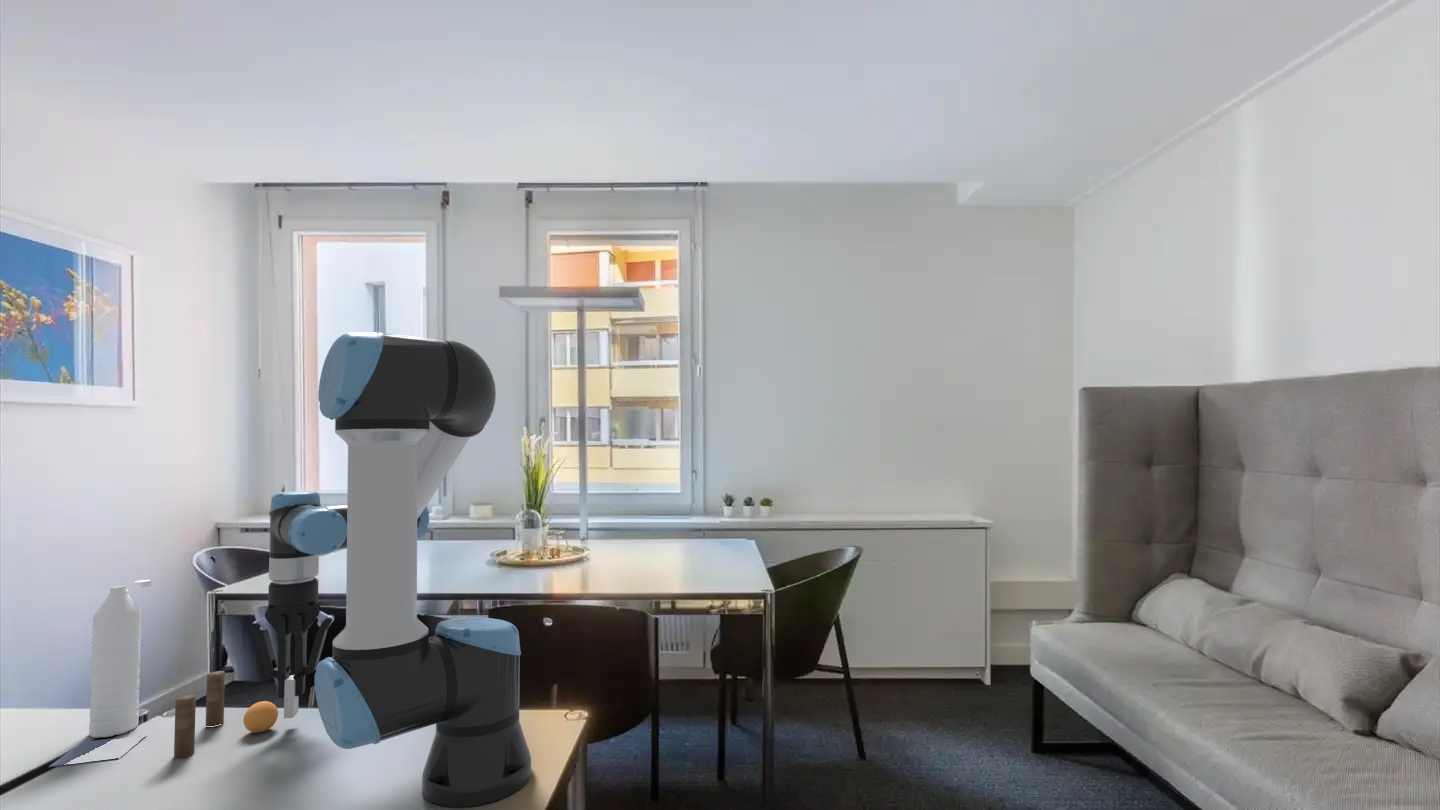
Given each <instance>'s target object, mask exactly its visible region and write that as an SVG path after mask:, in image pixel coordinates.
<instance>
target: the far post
mask: <svg viewBox="0 0 1440 810" xmlns="http://www.w3.org/2000/svg"><path fill="white" fill-rule="evenodd" d="M225 679H226V672H225V670H216V671H212V672H209V673H207V674H206V693H205V694H206V696H205V700H206V701H205V727H206V726H215V725H219V724H222V723H224V721H225V684H226V683H225V681H226V680H225Z"/></svg>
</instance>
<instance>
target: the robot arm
mask: <svg viewBox="0 0 1440 810" xmlns="http://www.w3.org/2000/svg"><path fill="white" fill-rule="evenodd" d="M324 359H325V360H324V362H323V365H322V369H321V373H320V376H319V377H320V378H319V385H318V394H317V395H318V398H317V399H318V402H319V409H320V410H319V411H320V413H321V415H322V416H324V417H325V418H327V419H329V420H331V421H333V420H334V423H335V424H334V432H335V434H336V435H337V436H338V437H339V438H341V439H342V441H343V442H345V443H346V445H347V494H346V495H347V499H346V502H347V503H346V504H335V505H334V504H332V505H322V504H321V499H320V498H321V497H320V493H319V492H317V491H312V490H299V491H298V490H297V491H296V490H295V491H282V492H277V493H275V494H273V495H272V497H271V498H270V499H271V500H270V510H269V512H268V515H269V557H268V558H269V559H268V560H269V561H268V562H269V564H268V565H269V566H268V580H269V581H271V582H270V583H268V593H267V594H268V595H267V596H268V597H267V601H268V602H267V604H268V605H267V609H266V611H265V613H264V616H263V617H262V618H260V619H256V620H255V621H253V622H252V623H251V624H250V625H249V630H250V631H251V632H252V634H253V635H254V636H255V639H256V642H257V646H258V651H259V654H260V658H261V662H262V665H263V669H264V674H265V677H267V678H274V679H277V682H278V684H277V696H278V699H282V698H283V699H284V700H283V719H291V718H292V719H294V718H295V716H296V715H297V714H298V713H299V697H302V695H304V693H305V691H306V677H307V675H310V674H312V673H314V672H315V674H314V692H315V697H316V698H315V699H316V703H317V708H318V713H319V716H320V719H321V722H322V724H323V726H324V730H325V731H326V733H327V735H328V737H329V739H330V740H331V741H332V742H333V744H335V745H336V746H337V747H338V748H341V749H344V750H351V749H354V748H359V747H363V746H367V745H368V746H369V745H371V744H373V745H377V744H380V743H381V742H383V741H385V740H386V741H387V740H388V739H393V738H394V737H398V736H401V735H405V734H408V733H410V732H411V733H412V732H413V731H417V730H421V729H423V728H427V727H429V726H433V725H435V734H434V737H433V738H434V739H433V740H432V743H431V747H430V748H429V749H430V750H429V753H428V757H427V758H426V762H425V766H424V768H423V771H422V775H421V776H422V778H421V780H422V781H421V783H422V784H421V791H422V793H421V794H422V795H423V797H424V798H425V799H426V800H427V801H429V802H430V803H433V804H436V805H439V806H444V807H452V808H454V807H457V808H463V807H465V808H466V807H474V806H479V805H484V804H488V803H492V802H496V801H499V800H501V799H503V798H506V797H508V796H510V795H512V794H514V793H515V792H517V791H519V790H520V789H521V788H522V787H524V786H525V785H526V784H527V783H528V782H529V780H530V778H531V776H532V757H531V752H530V749H529V746H528V744H527V740H526V737H525V735H524V731H523V727H522V724H521V722H520V675H521V674H520V673H521V672H520V671H521V670H520V663H521V662H520V656H521V655H522V651H521V645H520V635H519V634H520V633H519V630H518V628H517V626H515V625H514V624H513V623H512V622H509V621H507V620H503V619H498V618H491V617H489V618H488V617H479V616H478V617H476V616H474V617H471V616H469V617H454V618H447V619H444V620H442V621H440V622H439V623H437V625H436V628H435V632H434V633H435V635H433V636H429V635H430V633H429V627H428V626H426V625H425V624H424V623H423V622H422V621H421V620H420V619H419V618H418V617H417V616H418V615H417V614H418V540H420V539H422V538H424V536H426V534H427V532H428V530H429V529H428V526H429V525H430V512H429V509H428V505H429V503H430V501H431V500H432V499H433V496H434V495H435V493H436V492H437V491H438V489H439V487H440V485H441V484H442V482H443V481H444V479H445V478H446V476H447V475H448V472H450V470H451V468H452V467H453V464H454V463H455V461H456V460H457V459H458V457H459V456H460V453H462V451H463V449H464V448H465V446H466V444H467V443H468V441H469V440H470V438H474V437H476V436H478V435H479V434H480V433H481V432H482V431H483V430H484V429H485V426H486V425H487V424H488V422H489V420H490V418H491V416H492V415H493V411H494V410H495V409H494V408H495V404H496V398H497V396H496V395H497V394H496V391H497V390H496V383H495V382H496V381H495V380H494V377H493V373H492V371H491V369H490V367H489V365H488V364H487V362H486V361H485V359H483V357H482V356H481V355H479V353H477V351H475V350H474V349H473V348H471V347H469V346H468V345H466V344H464V343H461V342H459V341H457V340H456V341H455V340H452V339H443V338H441V339H435V338H428V337H419V336H411V335H403V334H394V333H387V332H385V333H384V332H379V331H378V332H375V331H374V332H365V331H364V332H362V331H361V332H360V331H359V332H358V331H357V332H356V331H354V332H353V331H352V332H351V331H350V332H346V333H344V334H342V335H340V336H339V337H337V338H336V339H335V341H334V342H333V343H332V345H331V346H330V348H329V350H328V352H327V353H326V357H325V358H324ZM344 549H346V586H345V587H346V594H345V596H346V598H345V600H346V601H345V602H346V604H345V606H346V607H345V608H346V609H345V626H344V628H343V629H342V630H341V631H340V633H338V634H337V635H336V636H335V637H334V638H333V639H332V656H331V657H330V656H328V657H325V658H324V659H322V660H320V658H321V654H322V652H323V648H324V646H325V645H324V644H325V640H326V637H327V634H328V630H329V628H330V626H331V625H332V623H333V622H334V621H335V619H336V617H335V615H334V614H327V613H325V612H324V611H322V608H321V607H322V606H321V605H320V604H319V579H318V578H317V576H318V575H319V573H320V571H319V569H320V567H319V566H320V561H319V560H320V556H321V555H326V554H327V555H328V554H331V553H332V552H334V551H336V550H344ZM316 619H317V622H316V623H317V624H316V625H317V626H318V628H317V631H316V635H315V637H314V641H313V643H312V644H313V645H312V647H311V648H312V649H311V652H310V655H309V658H308V659H309V660H308V663H307V653H308V652H307V646H308V644H307V640H308V629H309V628H310V627H311V626H312V624H313V623H314V622H315V621H316ZM269 625H271V627H272V629H274V630H275V631H276V633H277V641H278V644H277V659H276V654H275V650H274V647H273V643H272V639H271V635H270V632H269V629H268V628H269V627H270V626H269ZM292 634H294V635H293V636H294V637H293V638H294V643H295V644H294V673H293V674H292V675H290V673H291V671H292V670H291V668H290V667H291V636H292Z"/></svg>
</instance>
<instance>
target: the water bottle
mask: <svg viewBox="0 0 1440 810" xmlns="http://www.w3.org/2000/svg"><path fill="white" fill-rule="evenodd" d="M150 586H152V579H141V580H140V579H139V580H135V581H134V582H133V588H145V587H150ZM128 592H129V589H128V586H127V584H126V585H124V584H123V585H115V586H114V585H113V586H110V587H109V591H108V592H107V594H108V596H107V598H106V599H105V600H104V601H103V602H102V604H100V606H99V607H98V608H97V610H96V611H95V612H94V614H93V618H92V641H91V642H92V647H91V651H92V652H91V666H90V667H91V668H90V673H91V675H90V686H91V687H90V693H91V694H90V700H89V705H90V709H89V726H88V729H89V730H88V735H89V737H91V738H94V739H98V738H109V737H113V736H115V735H116V736H118V735H121V734H126V733H127V732H128V731H133V730H134V729H136V728H137V726H138V725H139V717H140V713H139V709H140V707H139V706H140V700H139V697H140V690H139V688H140V683H141V681H140V673H141V668H140V665H141V641H142V640H141V635H142V634H141V633H142V631H141V628H142V625H141V624H142V617H143V616H142V615H143V613H142V609H141V607H140V605H139V604H138V603H137V602H136V601H135V600H134V599H133V597H131V596H130V595H129V593H128ZM136 709H138V710H136ZM132 710H134V711H132Z"/></svg>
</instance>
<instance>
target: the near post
mask: <svg viewBox="0 0 1440 810" xmlns="http://www.w3.org/2000/svg"><path fill="white" fill-rule="evenodd" d="M196 699H197V695H196V694H186V695H181V696H179V697H177V698H176V697H175V704H174V705H175V706H174V707H175V710H174V736H173V737H174V741H173V742H174V743H173V758H174V757H175V758H174V759H184V758H183V757H185V758H188V757H191V756H193V755H194V754H195V749H196V748H195V744H196V743H195V741H196V736H195V735H196V702H197V700H196ZM193 753H194V754H193ZM190 755H191V756H190Z"/></svg>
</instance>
